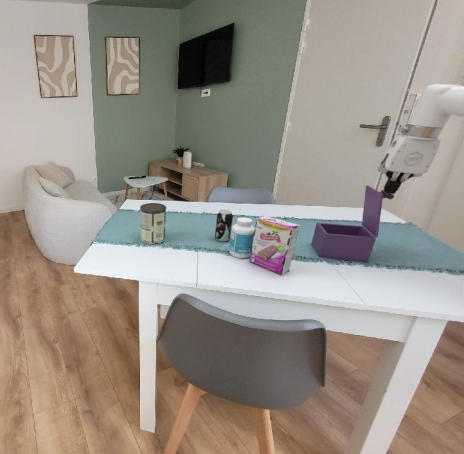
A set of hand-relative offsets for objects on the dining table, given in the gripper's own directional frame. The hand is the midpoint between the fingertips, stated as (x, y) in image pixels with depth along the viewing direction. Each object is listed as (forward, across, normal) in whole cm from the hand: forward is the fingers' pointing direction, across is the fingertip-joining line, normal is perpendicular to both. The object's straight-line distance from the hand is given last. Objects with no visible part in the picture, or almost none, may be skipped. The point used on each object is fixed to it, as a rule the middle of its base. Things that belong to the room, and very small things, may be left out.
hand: (388, 192), depth 91 cm
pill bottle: (+26, -38, -11) cm, 48 cm away
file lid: (+7, -2, -1) cm, 7 cm away
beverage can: (+28, -44, 0) cm, 52 cm away
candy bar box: (+25, -30, -18) cm, 43 cm away
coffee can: (+30, -71, -5) cm, 77 cm away
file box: (+23, -6, -2) cm, 24 cm away
